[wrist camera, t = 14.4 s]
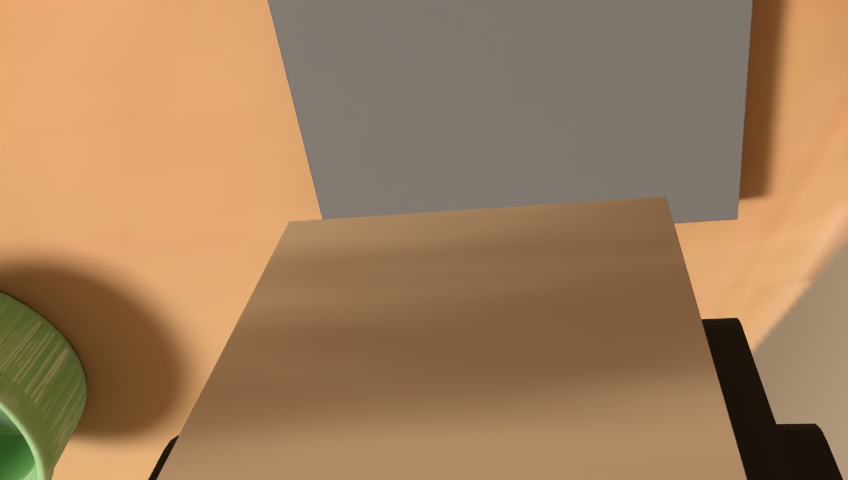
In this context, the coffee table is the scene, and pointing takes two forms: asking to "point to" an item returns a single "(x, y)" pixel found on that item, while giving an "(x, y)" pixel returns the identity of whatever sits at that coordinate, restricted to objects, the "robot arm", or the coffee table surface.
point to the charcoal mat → (518, 102)
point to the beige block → (468, 354)
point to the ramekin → (35, 393)
